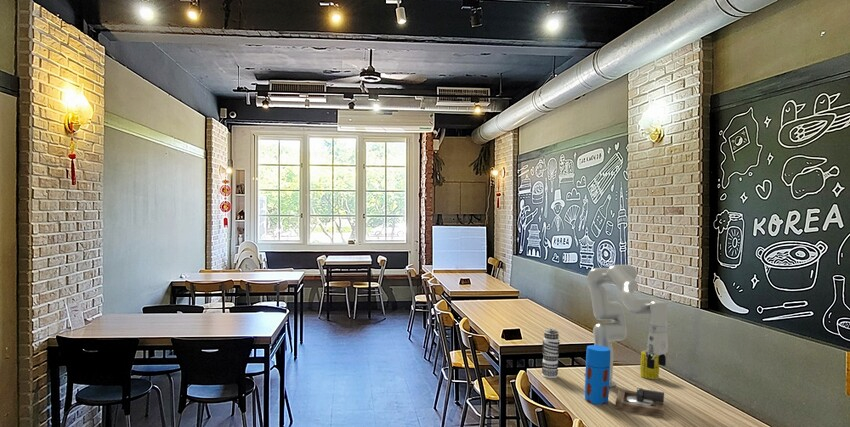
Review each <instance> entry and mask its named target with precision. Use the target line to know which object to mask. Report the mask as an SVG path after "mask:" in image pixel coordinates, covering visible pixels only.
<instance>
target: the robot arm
mask: <svg viewBox="0 0 850 427" xmlns="http://www.w3.org/2000/svg"><path fill="white" fill-rule="evenodd" d="M637 277H638V272H637V270H636V268H635V267H634V266H633V265H631V264H614V265H611V266H609V267H595V268H592V269H590V270H589V271H588V273H587V277H586V281H587V286H588V289H589V292H590V299H591V304H592V311H593V312H592V313H593V316H594V318H595V319H596V320H597V321H598V320H599V321H611V322H599V323H596V324H595V325H594V326H593V329H592V335H593V345H599V346H604V347H608V348H609V349H610V376H609V388H613V387H615V386H616V381H615V380H613V375H614V373H613V371H614V348H613V346H612V344H611V342H618V341H619V342H620V341H624V340H626V338H627V335H628V328H627V322H626V315H625V309H624V307H623V305H624V306H625V308H626V309H627V310H628V311H629V312H630V313H632V314H634V315H649V317H648V318H649V319H648V336H647V344H646V347H647V348H645V349H644V350H645V353H646V357H647V368H651V369H654V357H655V355H657V356H658V355H660V356H659V359H658V364H659V366H663V367H666V363H667V353H668V352H669V338H668V336H669V335H668V313H669V312H668V310H669V305H668V303H667V302H666V301H662V300H659V299H656V298H655V297H635V296H634V295H633V293H635V291H637V288H638V282H637V280H636V279H637ZM603 285H616V287H617V288H618V290H620V298H621V302H622V304H623V305H622V304H621V303H620V302H618V301H614V300H613V301H610V300H609V294H608V291H607V290H606V288H605V287H604V286H603ZM651 355H652V356H651ZM584 377H585V374H584Z"/></svg>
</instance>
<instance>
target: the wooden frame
mask: <svg viewBox="0 0 850 427" xmlns="http://www.w3.org/2000/svg"><path fill="white" fill-rule="evenodd" d="M628 396H637V391H633V390H627V389H621V388H619V389H618V391H617V395H616V399H615V406H614V408H615V410H619V411H623V412H630V413H634V414H635V413H636V414H641V415H648V416H650V417H651V416H652V417H658V418H664V412H665V409H664V408H665V406H664V404H665V402H659V401H653V400H652V401H653V402H654V405H653V406H648V405H642V404H636V403H631V402H627V397H628Z"/></svg>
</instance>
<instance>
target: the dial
mask: <svg viewBox="0 0 850 427" xmlns="http://www.w3.org/2000/svg"><path fill="white" fill-rule="evenodd" d="M636 392H637V396H628V397H627V402H631V403H636V404H642V405H648V406H653V405H654V402H653V401H659V402H664V401H665V392H664V391H657V390H652V389H644V388H639V387H638V388H636ZM652 400H653V401H652ZM664 403H665V402H664Z"/></svg>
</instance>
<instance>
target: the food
mask: <svg viewBox="0 0 850 427" xmlns="http://www.w3.org/2000/svg"><path fill="white" fill-rule="evenodd" d="M645 350H646V349H644V350H642V351H641V352H640V353H641V354H640V365H639V366H640V367H639V369H640V371H639V372H640V374H639V375H640V377H641V378H643V379H644V378H645V379H651V380H657V379H659V377H660V376H659V374H660V365H659V364H658V359H659V356H660V355H658V356H657V355H655V357H654V369H651V368H647V357H646V353H645ZM651 356H652V355H651Z"/></svg>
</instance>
